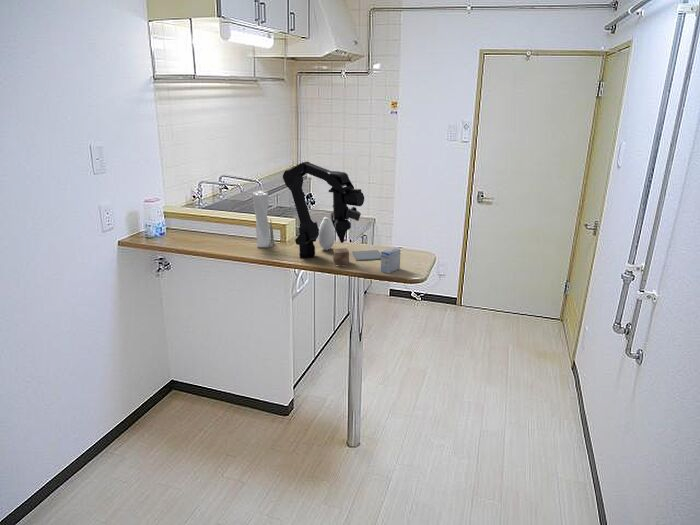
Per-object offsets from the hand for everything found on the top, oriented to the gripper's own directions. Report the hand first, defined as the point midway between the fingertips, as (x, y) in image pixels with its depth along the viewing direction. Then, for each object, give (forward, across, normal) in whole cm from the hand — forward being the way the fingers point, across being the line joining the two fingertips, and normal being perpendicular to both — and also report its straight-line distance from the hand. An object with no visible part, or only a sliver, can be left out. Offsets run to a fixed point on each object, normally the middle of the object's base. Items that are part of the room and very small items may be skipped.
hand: (340, 239), depth 213 cm
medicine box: (+11, -12, -19) cm, 25 cm away
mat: (+11, +8, -13) cm, 19 cm away
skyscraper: (+11, +32, +33) cm, 47 cm away
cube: (+11, 0, 0) cm, 11 cm away
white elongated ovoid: (+11, +21, +4) cm, 24 cm away
